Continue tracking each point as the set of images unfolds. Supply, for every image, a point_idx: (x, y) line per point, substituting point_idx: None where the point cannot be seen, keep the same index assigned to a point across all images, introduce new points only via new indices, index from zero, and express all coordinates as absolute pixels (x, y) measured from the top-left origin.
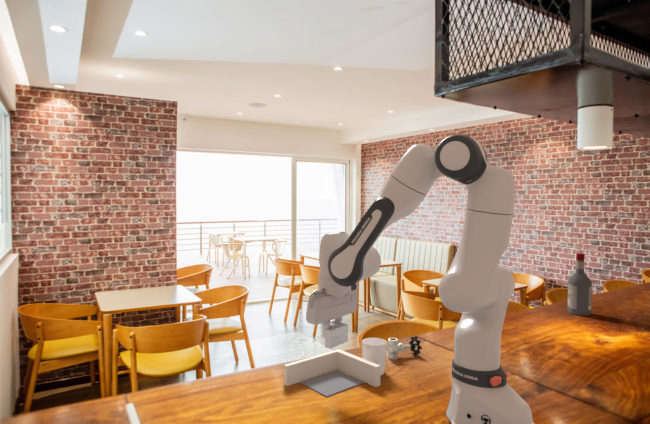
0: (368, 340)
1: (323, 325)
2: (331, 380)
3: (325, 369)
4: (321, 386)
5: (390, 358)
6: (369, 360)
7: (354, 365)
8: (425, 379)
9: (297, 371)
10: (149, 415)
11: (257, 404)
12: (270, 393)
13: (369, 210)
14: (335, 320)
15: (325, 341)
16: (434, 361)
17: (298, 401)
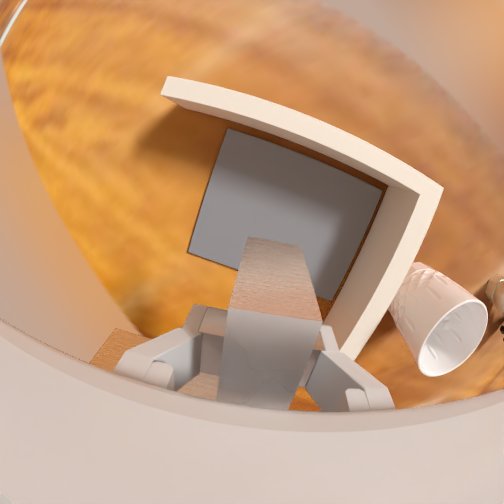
0: (478, 304)
1: (149, 344)
2: (296, 210)
3: (346, 163)
4: (236, 205)
5: (487, 286)
6: (400, 314)
7: (368, 275)
8: (395, 386)
9: (216, 112)
10: (6, 46)
11: (72, 128)
12: (125, 105)
13: None
14: (348, 383)
15: (102, 348)
16: (476, 359)
17: (127, 198)
